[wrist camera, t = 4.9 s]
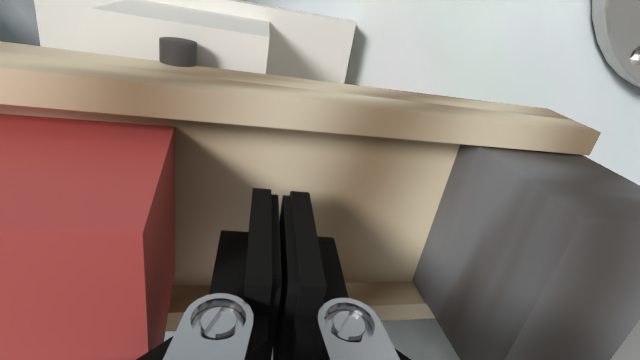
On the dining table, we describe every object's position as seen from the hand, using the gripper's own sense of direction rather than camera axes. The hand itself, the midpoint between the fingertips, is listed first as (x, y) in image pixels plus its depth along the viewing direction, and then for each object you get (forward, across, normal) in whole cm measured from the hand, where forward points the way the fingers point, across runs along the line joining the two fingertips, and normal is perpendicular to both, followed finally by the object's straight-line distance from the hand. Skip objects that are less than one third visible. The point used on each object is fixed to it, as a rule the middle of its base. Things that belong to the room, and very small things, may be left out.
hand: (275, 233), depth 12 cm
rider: (+1, +6, 0) cm, 6 cm away
